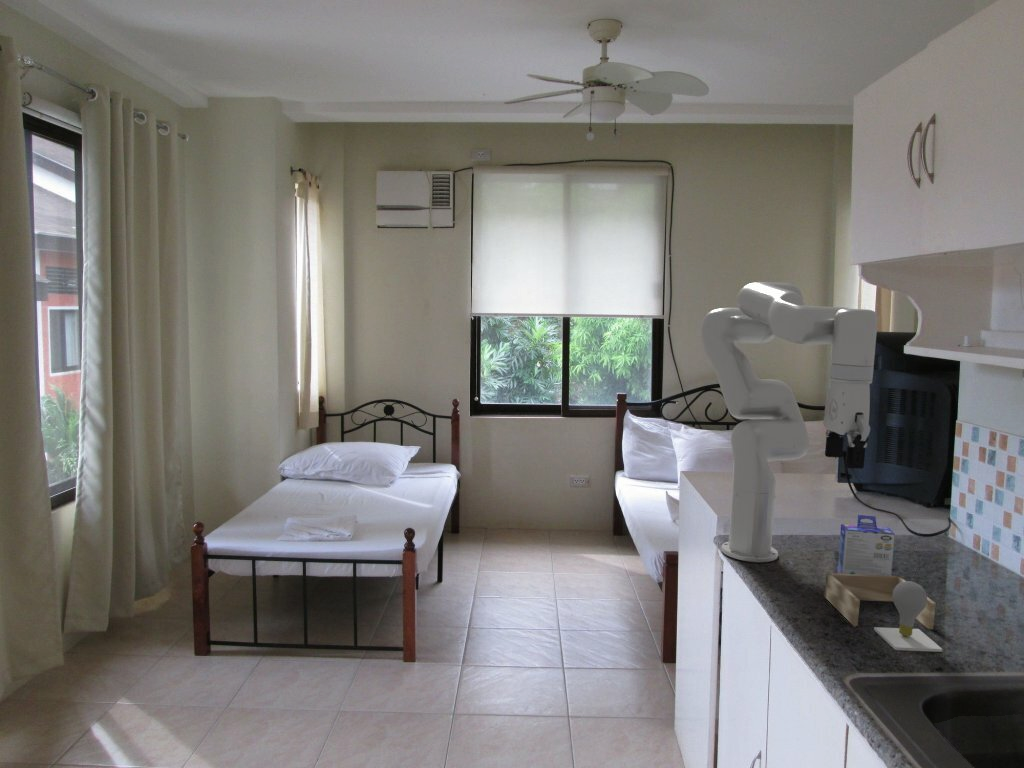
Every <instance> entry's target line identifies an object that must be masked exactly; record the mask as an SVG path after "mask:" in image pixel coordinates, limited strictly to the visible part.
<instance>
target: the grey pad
mask: <svg viewBox="0 0 1024 768" xmlns="http://www.w3.org/2000/svg"><path fill="white" fill-rule="evenodd" d="M912 629H913V630H912V635H911V636H907V637H904V636H903V635H902V634H900V633H899V627H878V626H877V627H876V626H875V627H873V630H874V631H875V632H876V633H877V635H878V636H880V637H881V638H882V639H883V640H884V641H886V643H887V644H888V645H889V646H890V647H892V648H893V649H894V651H910V652H912V651H913V652H914V651H915V652H933V653H934V652H936V653H937V652H938V653H939V652H940V653H943V648H942V647H941V646H939V645H938V644H937V643H936V642H935V641H934V640H933V639H931V638H930V637H929V636H927V634H925V633H924V632H923V631H922V630H921V629H919V628H912Z"/></svg>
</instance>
